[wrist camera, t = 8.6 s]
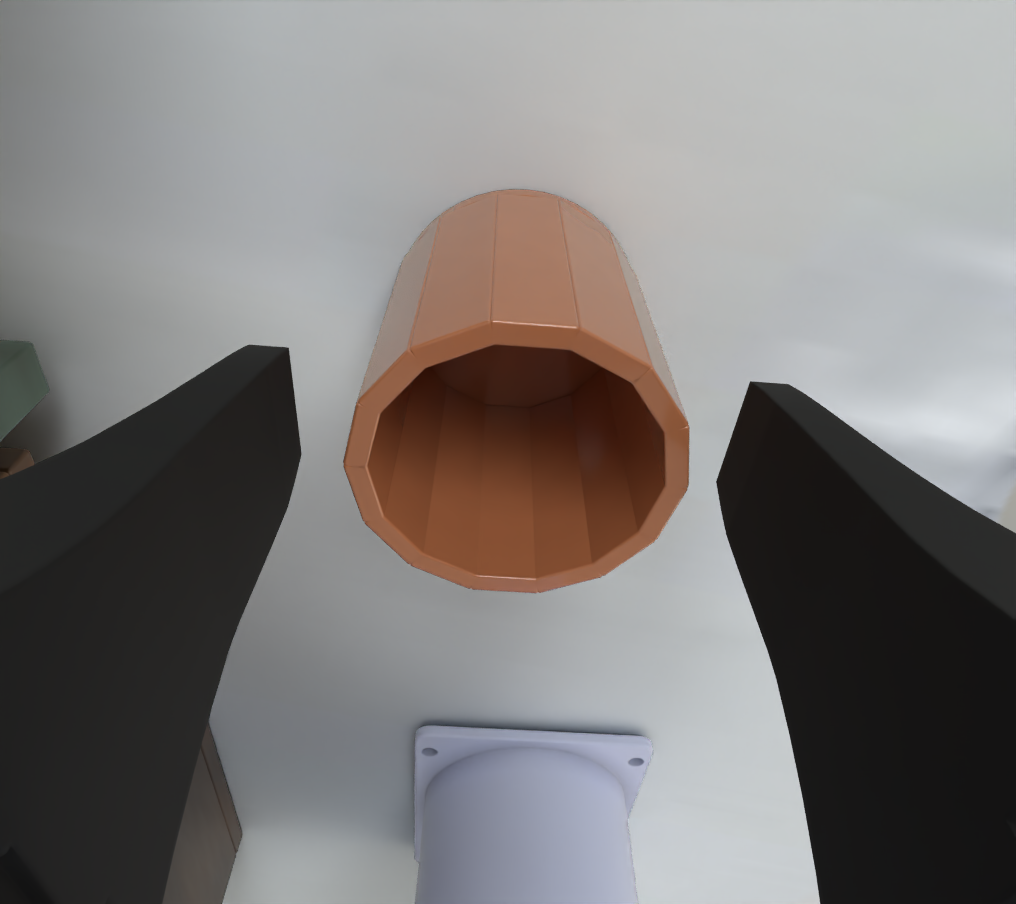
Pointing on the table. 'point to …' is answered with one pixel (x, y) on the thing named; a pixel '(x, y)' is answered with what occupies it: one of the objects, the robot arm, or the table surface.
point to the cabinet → (204, 835)
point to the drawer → (18, 397)
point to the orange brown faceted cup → (517, 402)
